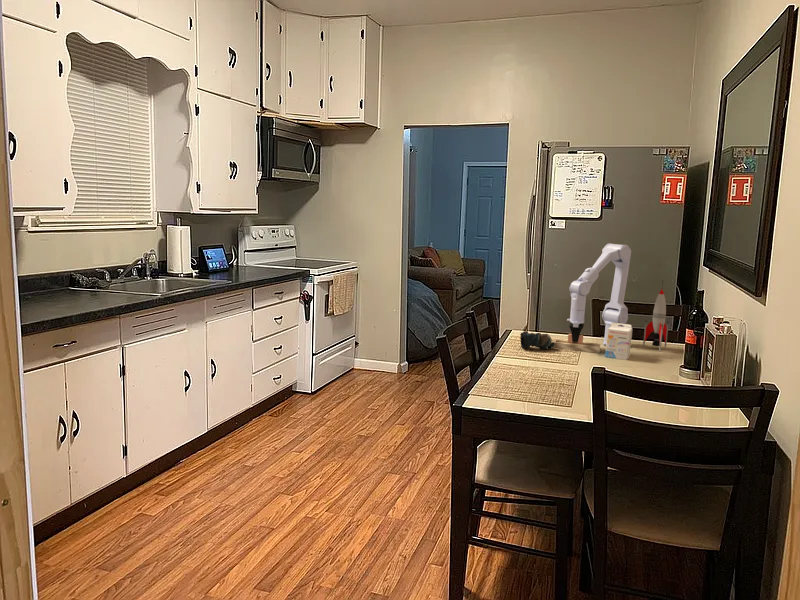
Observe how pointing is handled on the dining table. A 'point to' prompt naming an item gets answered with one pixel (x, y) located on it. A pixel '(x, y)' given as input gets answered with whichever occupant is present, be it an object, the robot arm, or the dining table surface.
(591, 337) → the dining table surface
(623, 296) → the robot arm
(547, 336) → the figurine
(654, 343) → the toy
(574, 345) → the rail
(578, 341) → the tall salmon pink block
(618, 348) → the ink box
